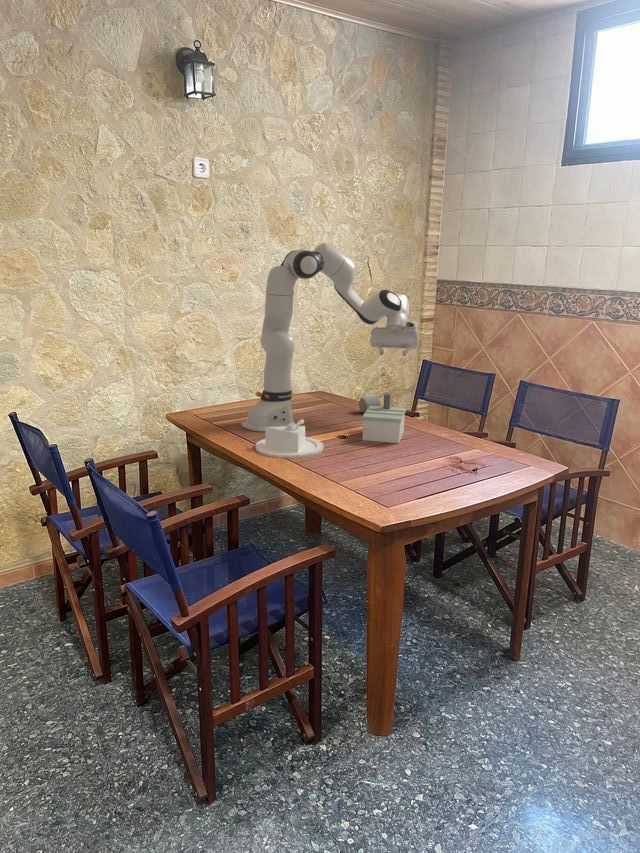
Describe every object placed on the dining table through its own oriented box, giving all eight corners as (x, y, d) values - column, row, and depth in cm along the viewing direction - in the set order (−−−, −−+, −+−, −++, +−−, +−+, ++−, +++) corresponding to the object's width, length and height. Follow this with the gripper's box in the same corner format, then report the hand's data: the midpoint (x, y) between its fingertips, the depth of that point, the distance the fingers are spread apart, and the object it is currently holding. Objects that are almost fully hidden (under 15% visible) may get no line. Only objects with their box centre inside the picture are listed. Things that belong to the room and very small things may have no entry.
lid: (400, 426, 237) (401, 403, 235) (362, 423, 240) (362, 401, 238) (405, 414, 254) (406, 393, 252) (369, 412, 258) (370, 391, 255)
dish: (328, 441, 241) (329, 412, 238) (315, 461, 217) (315, 430, 214) (266, 436, 246) (266, 408, 243) (246, 456, 222) (246, 425, 219)
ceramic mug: (357, 411, 287) (358, 394, 285) (373, 410, 290) (374, 393, 288) (367, 417, 278) (368, 400, 276) (384, 415, 281) (384, 399, 278)
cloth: (447, 455, 228) (447, 449, 227) (508, 466, 217) (508, 459, 216) (426, 471, 211) (426, 464, 210) (491, 483, 200) (491, 476, 199)
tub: (399, 443, 239) (400, 422, 237) (362, 440, 242) (363, 420, 240) (403, 430, 256) (404, 411, 254) (369, 428, 259) (370, 409, 257)
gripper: (371, 322, 266) (367, 349, 259) (420, 324, 261) (417, 351, 255) (372, 332, 271) (368, 358, 264) (420, 333, 267) (417, 360, 260)
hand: (392, 354), depth 259 cm, fingers open, 8 cm apart
